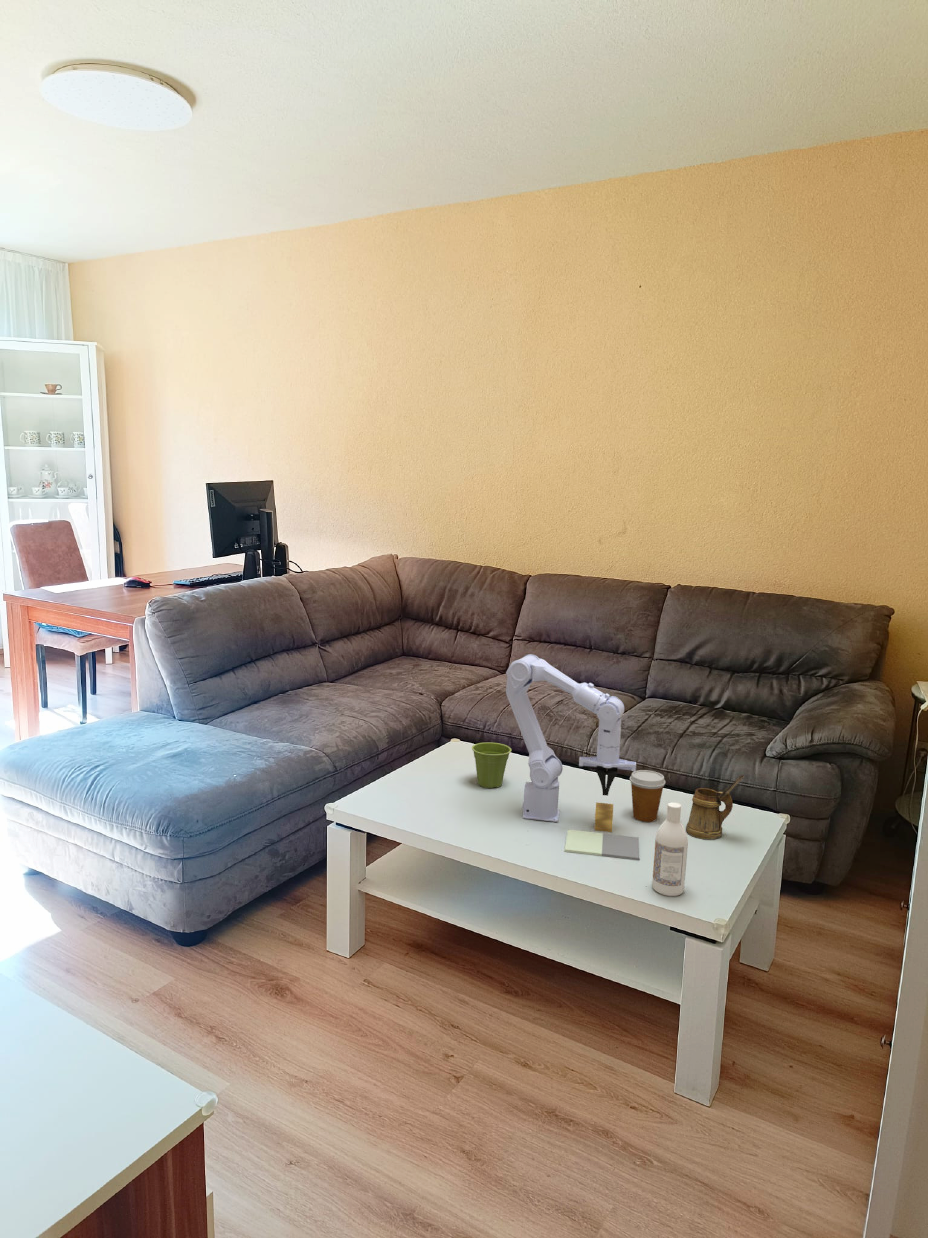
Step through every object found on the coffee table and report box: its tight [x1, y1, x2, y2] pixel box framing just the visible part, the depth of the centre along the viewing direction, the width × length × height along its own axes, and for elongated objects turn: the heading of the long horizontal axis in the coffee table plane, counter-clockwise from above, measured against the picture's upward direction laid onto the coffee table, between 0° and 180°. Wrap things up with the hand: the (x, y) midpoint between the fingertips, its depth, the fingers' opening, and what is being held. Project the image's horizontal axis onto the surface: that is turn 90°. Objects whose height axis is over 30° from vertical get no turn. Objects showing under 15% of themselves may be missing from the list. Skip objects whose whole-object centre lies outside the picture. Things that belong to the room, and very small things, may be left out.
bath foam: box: [651, 802, 689, 897], centre depth 178 cm, size 7×7×20 cm
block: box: [593, 802, 614, 833], centre depth 211 cm, size 4×4×6 cm
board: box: [564, 829, 640, 861], centre depth 201 cm, size 18×12×1 cm, turn 79°
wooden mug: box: [685, 774, 745, 841], centre depth 208 cm, size 9×14×18 cm, turn 55°
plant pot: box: [471, 741, 512, 789], centre depth 239 cm, size 12×12×11 cm
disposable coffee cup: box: [629, 769, 666, 823], centre depth 218 cm, size 10×10×12 cm
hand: (605, 794), depth 210 cm, fingers closed
